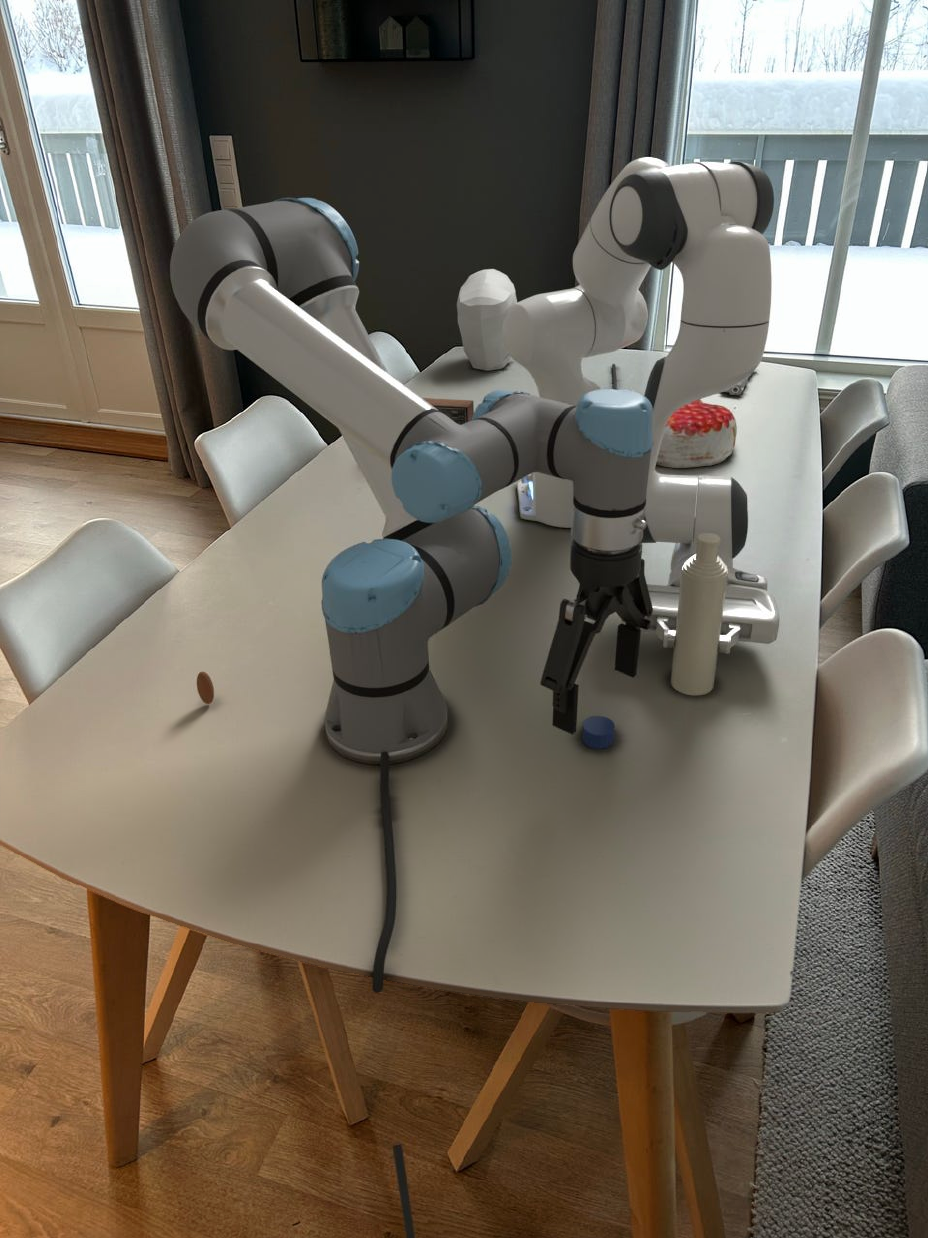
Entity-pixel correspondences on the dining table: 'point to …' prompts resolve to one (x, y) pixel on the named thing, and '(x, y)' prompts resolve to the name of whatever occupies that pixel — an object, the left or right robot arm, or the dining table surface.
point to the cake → (697, 436)
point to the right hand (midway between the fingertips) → (696, 646)
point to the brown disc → (205, 687)
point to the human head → (485, 317)
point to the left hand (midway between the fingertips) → (596, 699)
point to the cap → (598, 732)
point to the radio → (454, 409)
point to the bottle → (699, 618)
